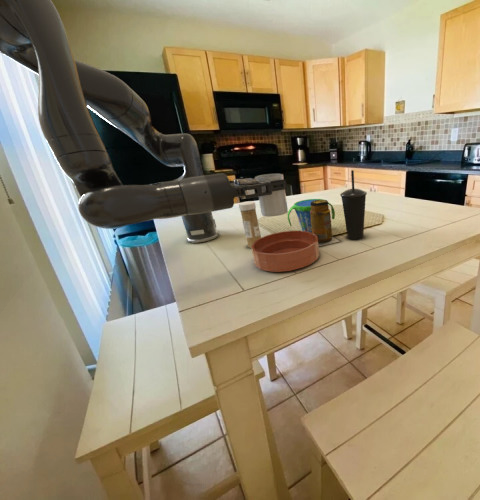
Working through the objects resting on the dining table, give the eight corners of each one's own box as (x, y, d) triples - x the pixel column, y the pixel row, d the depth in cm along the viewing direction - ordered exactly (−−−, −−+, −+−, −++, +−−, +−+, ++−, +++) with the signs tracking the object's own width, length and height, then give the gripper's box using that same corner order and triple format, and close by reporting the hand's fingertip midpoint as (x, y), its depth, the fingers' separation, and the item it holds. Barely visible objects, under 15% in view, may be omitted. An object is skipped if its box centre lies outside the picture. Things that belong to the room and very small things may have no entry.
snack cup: (290, 240, 86) (285, 208, 82) (289, 230, 95) (285, 201, 92) (338, 234, 88) (336, 203, 84) (333, 224, 97) (331, 196, 93)
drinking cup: (339, 240, 82) (334, 172, 74) (347, 232, 88) (344, 169, 81) (363, 242, 79) (361, 171, 72) (370, 233, 86) (369, 168, 78)
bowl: (261, 249, 80) (258, 233, 78) (318, 244, 81) (317, 228, 79) (248, 276, 64) (244, 257, 62) (320, 269, 65) (318, 250, 63)
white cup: (264, 211, 69) (258, 174, 66) (288, 208, 70) (283, 172, 66) (259, 217, 64) (252, 178, 60) (286, 215, 64) (281, 176, 60)
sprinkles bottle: (264, 245, 83) (256, 202, 78) (250, 249, 80) (241, 205, 75) (259, 241, 86) (251, 199, 81) (245, 245, 84) (236, 202, 79)
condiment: (328, 234, 88) (325, 197, 84) (340, 241, 81) (337, 202, 77) (307, 239, 86) (302, 201, 81) (317, 247, 78) (313, 206, 74)
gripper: (208, 178, 50) (290, 167, 58) (195, 173, 61) (266, 165, 69) (218, 217, 53) (295, 202, 61) (204, 206, 64) (270, 194, 72)
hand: (279, 182), depth 65 cm, fingers closed on white cup, 6 cm apart
